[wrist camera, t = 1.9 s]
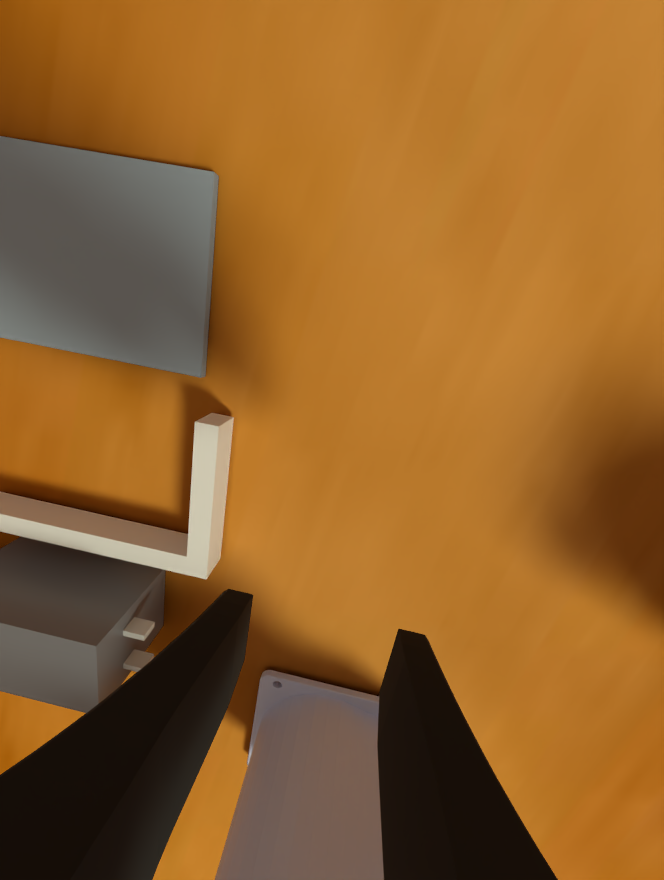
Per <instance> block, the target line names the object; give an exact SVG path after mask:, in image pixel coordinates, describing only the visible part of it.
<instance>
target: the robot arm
mask: <svg viewBox="0 0 664 880" xmlns="http://www.w3.org/2000/svg"><path fill="white" fill-rule="evenodd" d="M252 599H253V595H252V594H248V593H244V592H239V591H235V590H231V589H228V590H226V591H224V592H223V593H222V594H221V595H220V596H219V597H218V598H217V599H216V600H215V601H214V602H213V603H212V604H211V605H210V606H209V607H208V608H207V609H206V610H205V611H204V612H203V613H202V614H201V615H200V616H199V617H198V618H197V619H196V620H195V621H194V622H193V623H192V624H191V625H190V626H189V627H188V628H187V629H186V630H185V631H183V632H182V633H181V634H180V635H179V636H178V637H177V638H176V639H175V640H173V641H172V642H171V643H170V644H169V645H168V646H167V647H166V648H165V649H163V650H162V651H161V652H160V653H159V654H158V655H157V656H156V657H155V658H153V659H152V660H151V661H150V662H149V663H148V664H146V665H145V666H144V667H143V668H142V669H140V670H139V671H138V672H137V673H136V674H134V675H133V676H132V677H131V678H130V679H128V680H127V681H126V682H125V683H123V684H122V685H121V686H120V687H119V688H117V689H116V690H115V691H114V692H112V693H111V694H110V695H109V696H108V697H106V698H105V699H104V700H103V701H101V702H100V703H99V704H97V705H96V706H95V707H94V708H92V709H91V710H90V711H88V712H87V713H86V714H85V715H83V716H82V717H81V718H79V719H78V720H77V721H75V722H74V723H73V724H71V725H70V726H69V727H67V728H66V729H65V730H63V731H62V732H60V733H59V734H58V735H56V736H55V737H54V738H52V739H51V740H49V741H48V742H47V743H45V744H44V745H43V746H41V747H40V748H38V749H37V750H36V751H34V752H33V753H31V754H30V755H28V756H27V757H25V758H24V759H23V760H21V761H20V762H18V763H17V764H15V765H14V766H12V767H11V768H9V769H8V770H6V771H5V772H4V773H2V774H1V775H0V880H152V879H153V876H154V874H155V871H156V868H157V866H158V864H159V861H160V859H161V856H162V854H163V852H164V849H165V847H166V844H167V842H168V840H169V837H170V835H171V833H172V830H173V828H174V826H175V824H176V821H177V819H178V817H179V815H180V813H181V810H182V808H183V806H184V804H185V801H186V799H187V797H188V795H189V793H190V790H191V788H192V786H193V784H194V782H195V779H196V777H197V775H198V773H199V770H200V768H201V766H202V764H203V762H204V759H205V757H206V755H207V753H208V750H209V748H210V746H211V744H212V742H213V739H214V737H215V735H216V733H217V730H218V728H219V726H220V724H221V721H222V719H223V717H224V715H225V712H226V710H227V708H228V705H229V702H230V700H231V697H232V694H233V691H234V688H235V685H236V683H237V680H238V677H239V674H240V671H241V668H242V665H243V662H244V659H245V652H246V644H247V637H248V629H249V622H250V614H251V607H252ZM247 765H248V767H247V771H246V774H245V778H244V781H243V785H242V788H241V792H240V795H239V798H238V802H237V805H236V809H235V812H234V816H233V819H232V822H231V826H230V829H229V833H228V836H227V840H226V843H225V846H224V850H223V853H222V857H221V860H220V863H219V867H218V870H217V874H216V877H215V880H558V879H557V878H556V876H555V874H554V873H553V871H552V870H551V868H550V866H549V865H548V863H547V862H546V860H545V859H544V857H543V855H542V854H541V852H540V851H539V849H538V847H537V846H536V844H535V842H534V841H533V839H532V837H531V836H530V834H529V832H528V831H527V829H526V827H525V826H524V824H523V822H522V821H521V819H520V817H519V816H518V814H517V812H516V811H515V809H514V807H513V805H512V804H511V802H510V800H509V798H508V797H507V795H506V793H505V791H504V790H503V788H502V786H501V784H500V782H499V781H498V779H497V777H496V775H495V774H494V772H493V770H492V768H491V766H490V765H489V763H488V761H487V759H486V757H485V755H484V754H483V752H482V750H481V748H480V746H479V744H478V742H477V740H476V738H475V736H474V734H473V733H472V731H471V729H470V727H469V725H468V723H467V721H466V719H465V717H464V715H463V713H462V711H461V709H460V707H459V705H458V703H457V701H456V699H455V697H454V695H453V693H452V691H451V689H450V687H449V685H448V683H447V681H446V678H445V676H444V674H443V672H442V670H441V668H440V666H439V663H438V661H437V659H436V657H435V655H434V652H433V650H432V648H431V646H430V643H429V641H428V639H427V638H426V636H425V635H423V634H419V633H415V632H411V631H406V630H402V629H398V632H397V636H396V639H395V642H394V646H393V649H392V652H391V656H390V659H389V662H388V666H387V669H386V672H385V675H384V679H383V682H382V685H381V689H380V692H379V696H375V695H371V694H367V693H363V692H359V691H355V690H351V689H347V688H343V687H339V686H334V685H330V684H326V683H322V682H318V681H314V680H310V679H306V678H302V677H298V676H294V675H290V674H285V673H281V672H277V671H273V670H266V671H264V672H263V673H262V675H261V678H260V683H259V689H258V696H257V702H256V709H255V715H254V722H253V728H252V735H251V741H250V747H249V754H248V760H247Z"/></svg>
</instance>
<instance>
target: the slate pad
mask: <svg viewBox="0 0 664 880" xmlns="http://www.w3.org/2000/svg"><path fill="white" fill-rule="evenodd" d="M218 180H219V176H218V175H217V174H216V173H215V172H212V171H206V170H200V169H194V168H188V167H182V166H176V165H170V164H164V163H158V162H152V161H146V160H140V159H134V158H128V157H122V156H116V155H110V154H104V153H98V152H92V151H86V150H80V149H74V148H68V147H62V146H57V145H51V144H45V143H39V142H33V141H27V140H21V139H15V138H9V137H3V136H0V337H1V338H6V339H11V340H16V341H21V342H26V343H31V344H36V345H41V346H46V347H51V348H56V349H61V350H66V351H71V352H76V353H81V354H86V355H91V356H96V357H101V358H106V359H111V360H116V361H121V362H126V363H131V364H136V365H141V366H146V367H151V368H156V369H161V370H166V371H171V372H176V373H181V374H186V375H191V376H196V377H201V378H202V377H205V376H206V361H207V346H208V331H209V315H210V300H211V285H212V270H213V255H214V240H215V225H216V210H217V195H218Z"/></svg>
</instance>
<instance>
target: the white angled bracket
mask: <svg viewBox="0 0 664 880" xmlns="http://www.w3.org/2000/svg"><path fill="white" fill-rule="evenodd" d="M233 420H234V417H231V416H226V415H221V414H216V413H210V414H208V415H207V416H205V417H203V418H201V419H199V420H197V421H195V427H194V444H193V461H192V477H191V494H190V511H189V528H188V534H185V533H181V532H176V531H172V530H168V529H163V528H159V527H154V526H150V525H145V524H141V523H137V522H132V521H128V520H123V519H119V518H115V517H110V516H106V515H101V514H97V513H92V512H88V511H84V510H79V509H75V508H70V507H66V506H62V505H57V504H53V503H48V502H44V501H39V500H35V499H31V498H26V497H22V496H17V495H13V494H8V493H4V492H0V532H5V533H9V534H13V535H17V536H22V537H26V538H30V539H35V540H39V541H43V542H48V543H52V544H56V545H60V546H65V547H69V548H73V549H78V550H82V551H86V552H90V553H95V554H99V555H103V556H108V557H112V558H116V559H121V560H125V561H129V562H133V563H138V564H142V565H146V566H151V567H155V568H159V569H163V570H168V571H172V572H176V573H181V574H185V575H189V576H194V577H198V578H202V579H207V578H208V576H209V575H210V573H211V572H212V570H213V569H214V567H215V566H216V564H217V563H218V561H219V560H220V558H221V547H222V537H223V526H224V515H225V505H226V494H227V484H228V473H229V462H230V452H231V441H232V431H233Z"/></svg>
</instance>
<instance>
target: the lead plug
mask: <svg viewBox="0 0 664 880" xmlns="http://www.w3.org/2000/svg"><path fill="white" fill-rule="evenodd" d="M164 594H165V570H163V569H159V568H155V567H151V566H146V565H142V564H138V563H133V562H129V561H125V560H121V559H116V558H112V557H108V556H103V555H99V554H95V553H90V552H86V551H82V550H78V549H73V548H69V547H65V546H60V545H56V544H52V543H48V542H43V541H39V540H35V539H30V538H26V537H22V536H21V537H20V538H18V539H16V540H14V541H13V542H11V543H9V544H8V545H6V546H4V547H3V548H1V549H0V691H3V692H6V693H10V694H14V695H18V696H22V697H26V698H30V699H34V700H38V701H42V702H46V703H49V704H53V705H57V706H61V707H65V708H69V709H73V710H77V711H81V712H85V713H87V712H88V711H90V710H91V709H92V708H94V707H95V706H96V705H97V704H99V703H100V702H101V701H103V700H104V699H105V698H106V697H108V696H109V695H110V694H111V693H112V692H114V691H115V690H116V689H117V688H119V687H120V686H121V684H122V683H123V682H124V680H125V679H126V677H127V676H128V675H129V673H130V672H131V670H132V671H136V672H138V671H139V670H140V669H142V668H143V667H144V666H145V665H146V664H148V663H149V662H150V661H151V660H152V659H153V658H154V654H152V653H148V652H145V651H146V649H147V648H148V646H149V645H150V644H151V642H152V641H153V639H154V638H155V636H156V635H157V634H158V632H159V631H160V629H161V628H162V627H163V621H164Z"/></svg>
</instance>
